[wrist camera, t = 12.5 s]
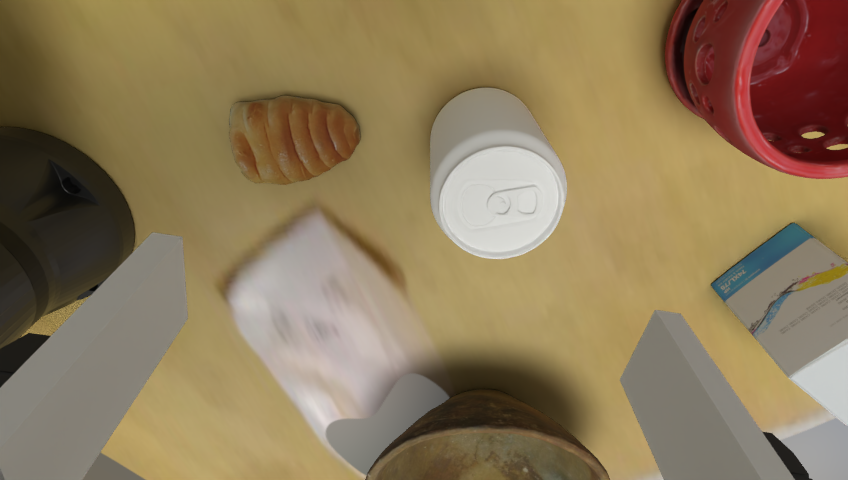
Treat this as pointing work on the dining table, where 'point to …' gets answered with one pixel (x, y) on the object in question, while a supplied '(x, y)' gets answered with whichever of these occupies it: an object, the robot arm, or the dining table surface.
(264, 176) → the pastry
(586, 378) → the dining table surface
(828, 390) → the ink box
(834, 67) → the plant pot
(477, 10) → the dining table surface
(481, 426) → the bowl
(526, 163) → the beverage can
